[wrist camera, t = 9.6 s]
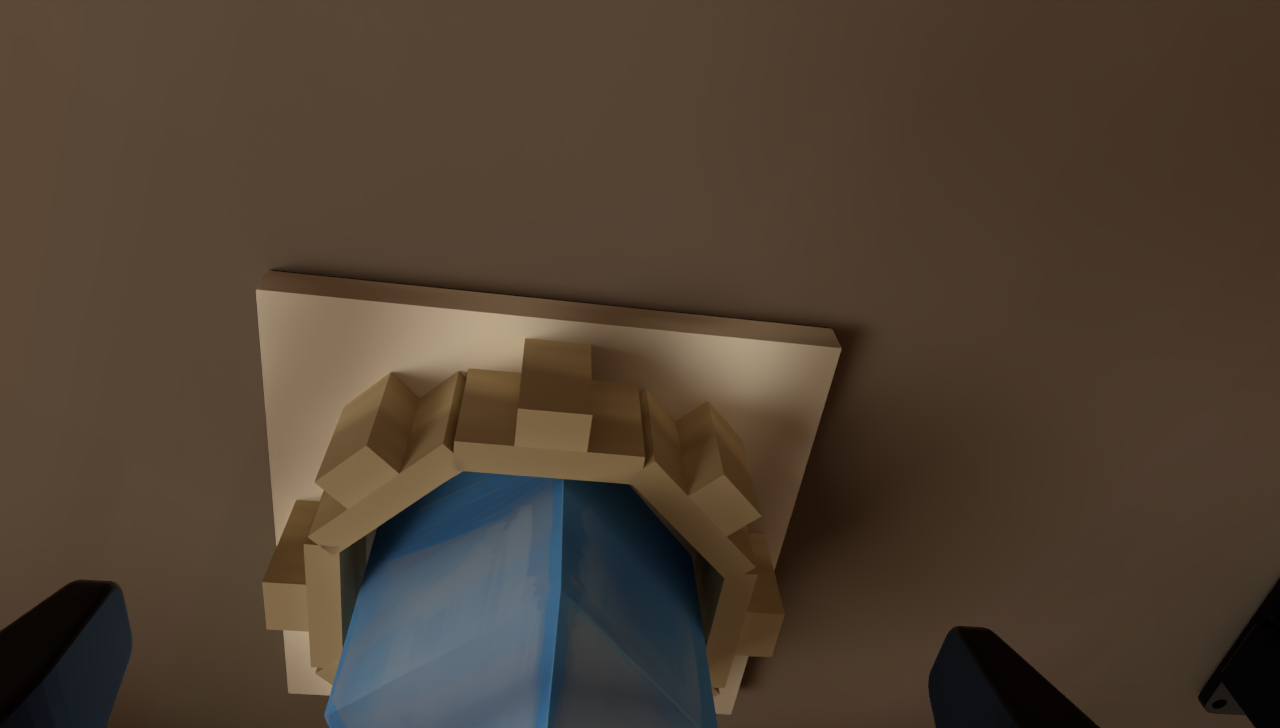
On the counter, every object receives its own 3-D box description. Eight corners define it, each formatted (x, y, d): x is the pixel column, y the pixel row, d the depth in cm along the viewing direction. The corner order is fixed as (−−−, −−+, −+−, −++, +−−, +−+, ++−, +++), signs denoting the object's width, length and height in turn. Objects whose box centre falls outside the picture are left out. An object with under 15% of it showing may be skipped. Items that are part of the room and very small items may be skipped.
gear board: (832, 328, 23) (875, 417, 20) (726, 689, 30) (745, 799, 27) (268, 270, 22) (210, 357, 18) (297, 667, 29) (258, 782, 25)
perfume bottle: (518, 646, 27) (481, 1145, 17) (378, 520, 24) (234, 1029, 14) (692, 556, 26) (766, 1044, 16) (564, 411, 23) (553, 892, 13)
